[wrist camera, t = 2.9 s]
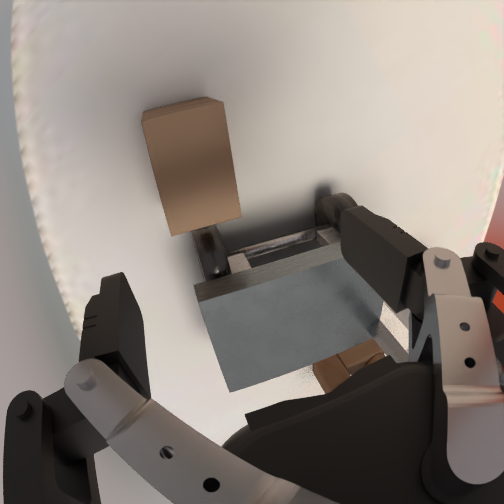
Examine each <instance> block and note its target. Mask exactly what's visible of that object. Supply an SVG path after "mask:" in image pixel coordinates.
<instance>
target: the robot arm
mask: <svg viewBox="0 0 504 504" xmlns="http://www.w3.org/2000/svg"><path fill="white" fill-rule="evenodd" d="M340 246H341V252H342V255H343V257H344V259H345V261H346V262H347V263H348V264H349V265H350V266H351V267H352V268H353V269H354V270H355V271H356V272H357V273H358V274H359V275H360V276H361V277H362V278H363V279H364V280H365V281H366V282H367V283H368V284H369V285H370V286H371V287H372V288H373V290H374V291H375V292H376V293H377V294H378V295H379V296H380V297H381V298H382V299H383V300H384V301H385V302H386V303H387V304H388V305H389V306H390V308H391V309H392V310H393V311H394V312H395V313H398V312H401V311H403V310H405V309H407V308H408V309H409V310H410V314H409V358H408V362H401V363H396V362H395V361H394V359H393V358H392V357H391V356H390V355H388V356H386V357H384V358H382V359H380V360H378V361H376V362H374V363H372V364H370V365H367V366H365V367H363V368H361V369H359V370H358V371H356V372H355V373H354V374H353V375H351V376H350V377H349V378H348V379H346V380H345V381H344V382H342V383H341V384H340V385H339V386H337V387H336V388H335V389H333V390H332V391H331V392H329V393H327V394H324V395H318V396H312V397H306V398H300V399H293V400H286V401H282V402H279V403H276V404H274V405H271V406H268V407H265V408H262V409H259V410H256V411H253V412H250V413H247V414H245V417H246V420H247V423H248V425H246V426H245V427H243V428H241V429H240V430H238V431H237V432H236V433H235V434H233V435H232V436H231V437H230V438H229V439H228V440H227V441H226V442H225V443H224V444H223V445H222V447H221V446H219V445H217V444H216V443H214V442H213V441H211V440H210V439H208V438H207V437H205V436H204V435H202V434H201V433H199V432H198V431H196V430H195V429H193V428H192V427H190V426H189V425H187V424H186V423H184V422H183V421H182V420H180V419H179V418H177V417H176V416H175V415H173V414H172V413H171V412H169V411H168V410H166V409H165V408H164V407H162V406H161V405H160V404H159V403H157V402H156V401H154V400H153V399H151V393H150V385H149V376H148V368H147V358H146V348H145V336H144V324H143V318H142V314H141V311H140V308H139V306H138V303H137V301H136V299H135V297H134V295H133V292H132V290H131V288H130V286H129V283H128V281H127V279H126V277H125V275H124V273H123V272H120V273H117V274H113V275H110V276H106V277H103V278H102V280H101V287H100V294H97V295H94V296H92V297H91V299H90V301H89V302H88V304H87V306H86V307H85V314H84V321H83V330H82V336H81V346H80V354H79V363H77V364H76V365H74V366H73V367H72V368H71V369H70V371H69V372H68V374H67V375H66V378H65V381H64V387H63V388H62V389H60V390H59V391H57V392H55V393H53V394H51V395H49V396H47V397H45V398H42V397H41V396H39V394H38V393H36V392H34V391H30V390H28V391H24V392H21V393H19V394H18V395H17V396H16V397H15V398H14V399H13V400H12V401H11V403H10V405H9V407H8V410H7V416H6V426H5V439H4V456H3V457H4V459H3V495H4V504H101V500H100V494H99V489H98V483H97V476H96V470H95V462H94V454H95V453H96V452H98V451H100V450H102V449H104V448H106V447H108V446H110V447H111V448H112V449H113V450H114V451H115V452H116V453H117V454H118V455H119V456H120V457H121V458H122V459H123V460H124V461H125V462H126V463H127V464H128V465H129V466H131V467H132V468H133V469H134V470H135V471H136V472H137V473H138V474H139V475H140V476H142V477H143V478H144V479H145V480H146V481H147V482H148V483H149V484H150V485H152V486H153V487H154V488H155V489H156V490H157V491H159V492H160V493H161V494H162V495H164V496H165V497H166V498H167V499H168V500H170V501H171V502H172V503H174V504H504V386H503V385H500V383H499V376H498V370H497V364H496V358H497V359H498V360H499V362H500V363H501V364H502V365H503V367H504V314H503V313H502V312H501V311H500V310H499V309H498V308H497V307H496V306H495V305H494V304H493V303H492V301H493V299H494V297H495V294H496V292H497V289H498V290H499V291H500V292H501V293H502V294H503V295H504V250H503V249H502V248H501V247H499V246H497V245H495V244H492V243H488V242H482V243H479V244H477V245H476V247H475V250H474V254H473V256H472V257H464V258H459V256H458V255H457V254H455V253H454V252H452V251H451V250H448V249H445V248H440V247H434V248H430V249H428V248H427V247H425V246H424V245H423V244H421V243H420V242H419V241H417V240H416V239H415V238H413V237H412V236H411V235H409V234H408V233H407V232H404V230H402V229H401V228H400V227H397V225H396V224H394V223H393V222H391V221H390V220H389V219H386V218H384V217H381V216H378V215H375V214H374V213H372V212H371V211H369V210H368V209H366V208H365V207H364V206H356V207H353V208H349V209H345V210H343V211H342V213H341V243H340ZM495 357H496V358H495Z"/></svg>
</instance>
